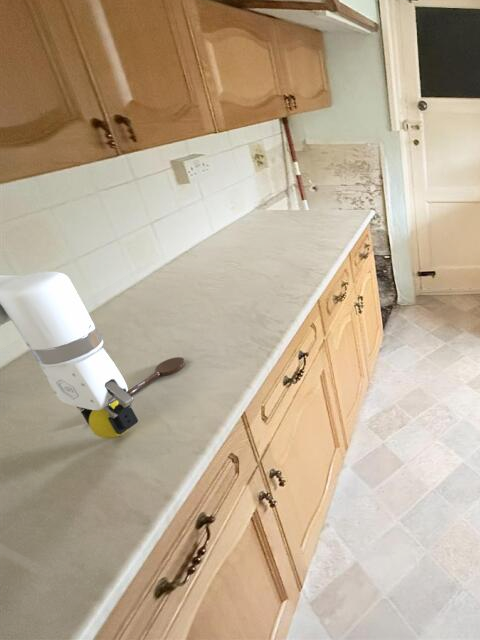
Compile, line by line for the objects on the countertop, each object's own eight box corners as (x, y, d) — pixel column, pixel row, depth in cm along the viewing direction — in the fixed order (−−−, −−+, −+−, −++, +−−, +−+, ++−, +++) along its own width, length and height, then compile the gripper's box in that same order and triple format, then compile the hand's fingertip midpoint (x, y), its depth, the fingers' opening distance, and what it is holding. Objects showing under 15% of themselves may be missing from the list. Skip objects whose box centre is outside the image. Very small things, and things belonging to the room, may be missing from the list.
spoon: (102, 423, 76) (99, 419, 76) (82, 419, 77) (79, 414, 77) (191, 362, 92) (189, 358, 92) (173, 359, 93) (171, 354, 93)
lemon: (93, 443, 72) (72, 411, 69) (127, 420, 77) (110, 388, 73) (113, 451, 71) (93, 418, 67) (147, 427, 75) (130, 395, 72)
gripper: (0, 351, 63) (55, 431, 71) (79, 368, 60) (128, 451, 67) (58, 324, 70) (103, 401, 78) (133, 338, 66) (172, 417, 74)
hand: (114, 423), depth 72 cm, fingers closed on lemon, 5 cm apart
